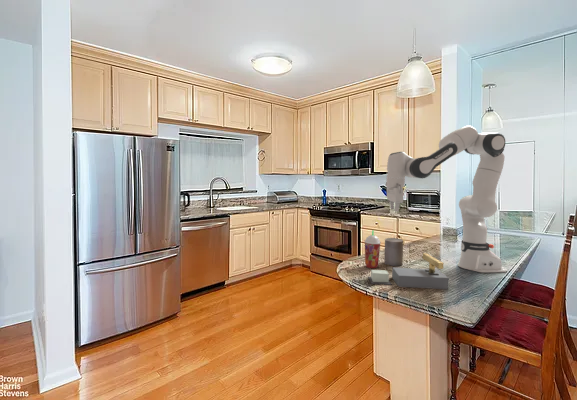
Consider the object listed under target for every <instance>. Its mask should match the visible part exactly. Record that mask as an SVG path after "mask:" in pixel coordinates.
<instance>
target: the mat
mask: <svg viewBox="0 0 577 400" xmlns="http://www.w3.org/2000/svg"><path fill="white" fill-rule="evenodd" d="M367 278H368V280H369V282H370V284H371V285H381V284H384V285H383V286H392V283H391V281H390V280H389V283H388V282H373V281H372V279H371V276H368V277H367Z"/></svg>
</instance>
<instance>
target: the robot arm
mask: <svg viewBox="0 0 577 400" xmlns="http://www.w3.org/2000/svg"><path fill="white" fill-rule="evenodd" d="M505 147H506V138H505V135H503V134H502V133H500V132H494V131H493V132H481V133H479V132H478V130H477V129H476V128H475V127H473V126H472V125H466V126H462V127H460V128H458V129H456V130H454V131H451V132H450V133H448V134H447V135H445V136H444V137H443V138H442V139H441V140H440V141H439V143H438V149H437V150H436V151H434V152H432V153H431V154H430V155H428V156H422V157H417V158H414V157H411V156H410V155H408V154H407V153H406V152H405V151H396V152H392V153H390V154H389V155H388V158H387V165H386V170H387V174H386V181H385V187H386V200H387V201H389V209H390V210H393V211H394V212H399V210H400V206H401V204H403V203H404V188H405V183H406V177H408V178H416V179H427V178H428V177H429V176H430V175H432V173H433V172H434V170H436V169H437V167H438V166H440V165H442V164H443V163H444V162H446V161H447V160H449V159H450V158H452V157H454V156H456V155H458V154H460V153H462V152H465V153H467V154H469V155H479V159H480V160H479V163H478V164H477V167H476V168H477V169H476V171H475V174H474V176H473V179H472V186H473V187H472V189H473V190H472V194H469V195H466V196H464V197H461V199H460V200H459V202H458V207H459V209H460V212H461V219H462V240H461V243H460V250H461V252H460V257H459V260H458V263H457V266H458V267H460V268H461V269H465V270H469V271H474V272H478V273H507V272H508V270H507V268H506V267H504V266H503V264H502V263H503V262H502V259H501V258H500V257H499V256H498V255H497V254H495V253H494V252H493V251H492V250H491V249H494V248H495V245H494V244H492V243H488V242H487V240H488V227H487V224H486V222H485V218H490V217H492V216H494V215H495V214H496V213H497V210H498V205H497V203H496V191H497V186H498V183H499V181H500V178H501V176H502V175H501V174H502V172H503V168H504V164H505V154H504V151H505ZM506 271H507V272H506Z"/></svg>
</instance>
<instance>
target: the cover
mask: <svg viewBox="0 0 577 400" xmlns="http://www.w3.org/2000/svg"><path fill="white" fill-rule="evenodd" d="M389 276H390V274H389V272H388V270H387V269H386V270H381V269H371V270H370V277H371V279H372V281H373V282H388V283H389V281H390V277H389Z"/></svg>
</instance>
